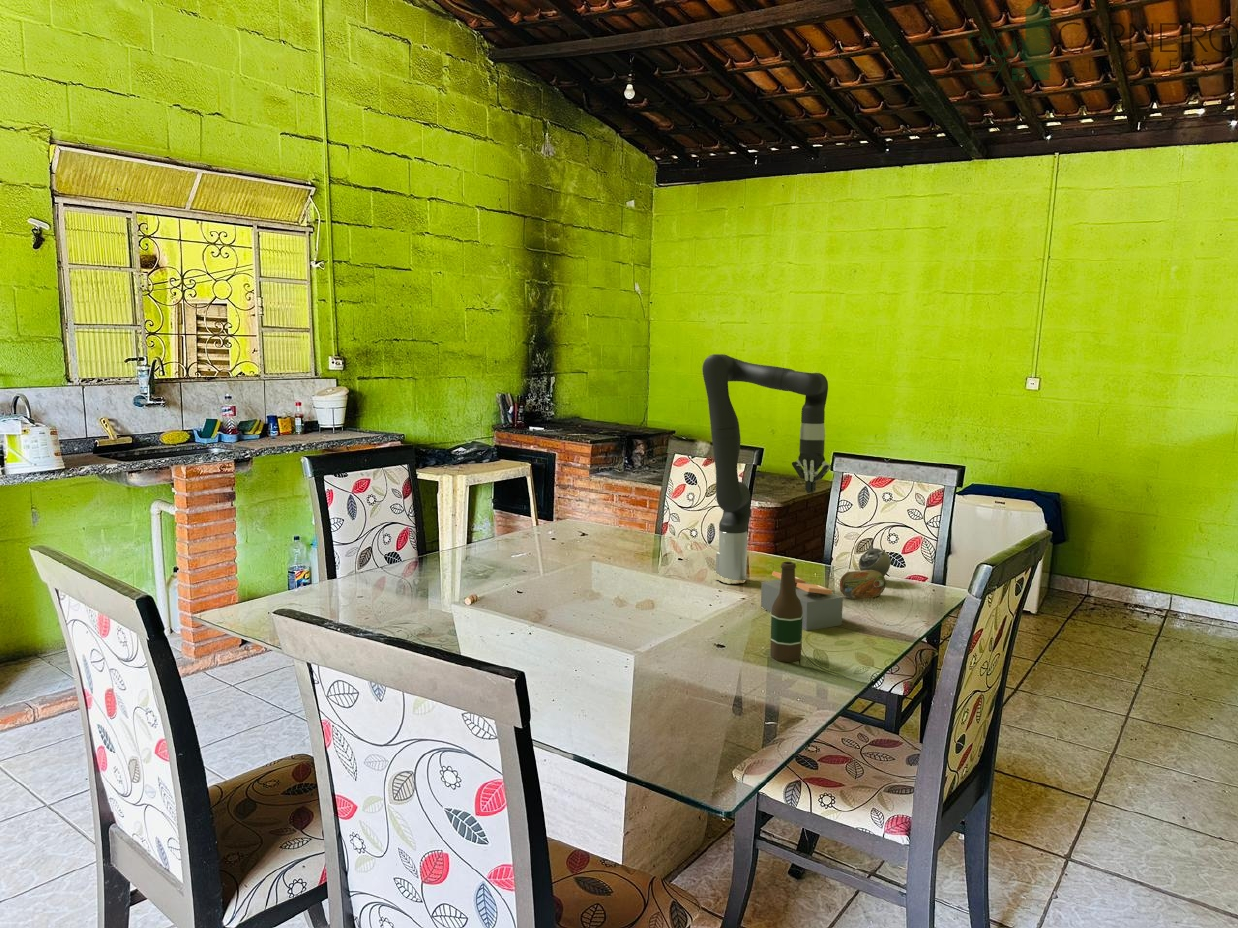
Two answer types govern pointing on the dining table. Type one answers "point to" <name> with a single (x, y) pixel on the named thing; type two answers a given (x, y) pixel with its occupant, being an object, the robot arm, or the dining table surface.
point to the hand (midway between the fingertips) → (810, 492)
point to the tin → (862, 584)
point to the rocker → (797, 580)
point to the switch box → (807, 605)
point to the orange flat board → (814, 588)
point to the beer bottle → (786, 619)
